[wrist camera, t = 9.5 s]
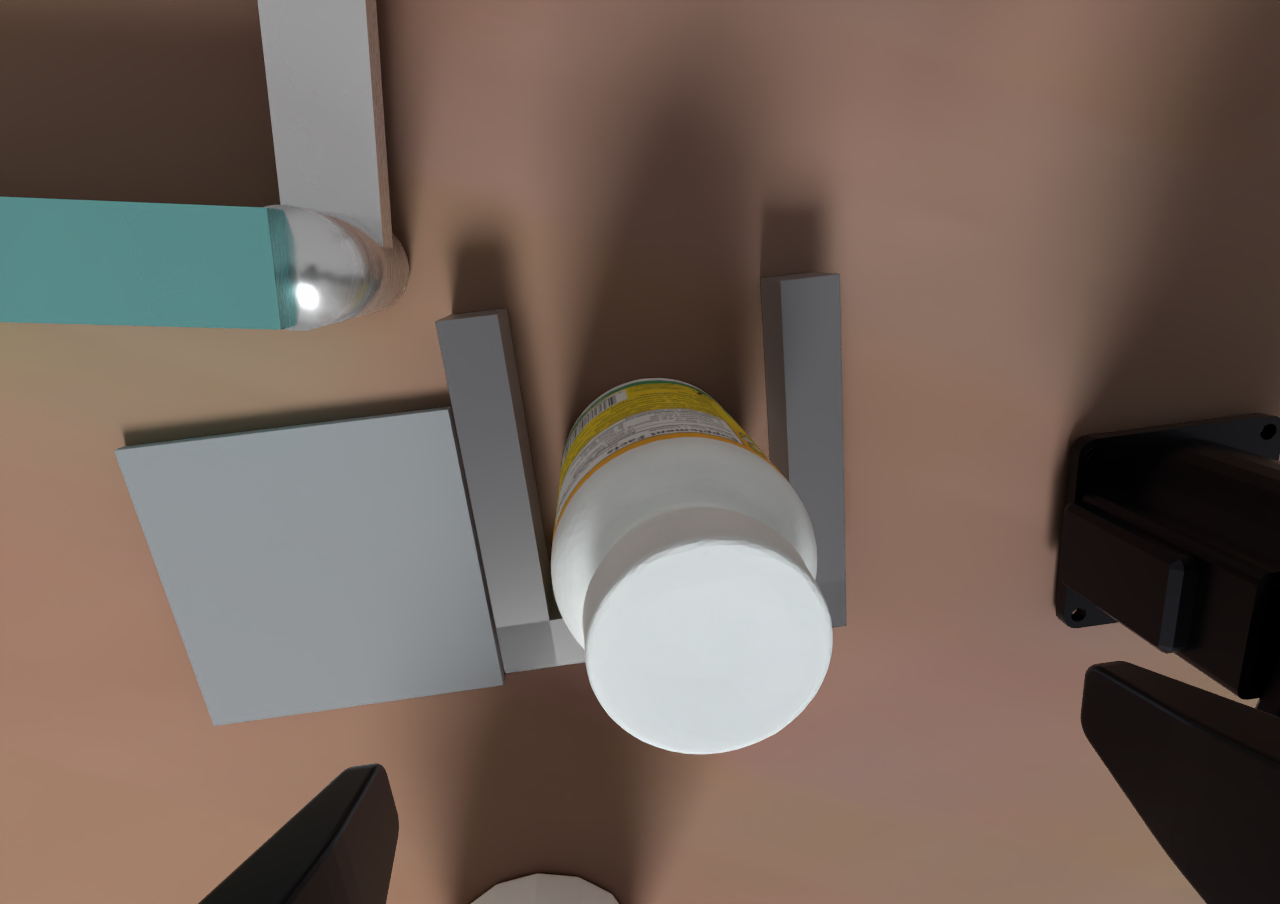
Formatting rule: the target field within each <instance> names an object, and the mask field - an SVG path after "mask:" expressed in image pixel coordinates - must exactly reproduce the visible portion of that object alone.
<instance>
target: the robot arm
mask: <svg viewBox="0 0 1280 904" xmlns="http://www.w3.org/2000/svg"><path fill="white" fill-rule="evenodd" d="M1263 427H1264V428H1263ZM1262 428H1263V430H1262ZM1261 430H1262V432H1261ZM1091 448H1093V452H1092V454H1091V455H1090V456H1089V457H1088V458H1087V453H1088V451H1089V450H1090V449H1091ZM1279 454H1280V418H1279V417H1277V416H1273V415H1269V414H1264V413H1255V414H1247V415H1239V416H1232V417H1224V418H1216V419H1209V420H1201V421H1193V422H1185V423H1178V424H1170V425H1162V426H1155V427H1147V428H1139V429H1132V430H1124V431H1116V432H1108V433H1101V434H1093V435H1086V436H1083V437H1080V438H1079V439H1078V440H1076V441H1075V442H1074V444H1073V445H1072V446H1071V449H1070V453H1069V464H1068V475H1067V487H1066V498H1065V509H1064V515H1063V527H1062V538H1061V550H1060V561H1059V572H1058V589H1057V600H1056V616H1057V617H1058V618H1059V619H1060V620H1061V621H1062V622H1063V623H1065V624H1066V625H1067V626H1069V627H1071V628H1081V627H1088V626H1095V625H1102V624H1109V623H1116V622H1119V623H1121V624H1122V625H1124V626H1125V627H1127V628H1128V629H1129V630H1131V631H1132V632H1134V633H1135V634H1137V635H1138V636H1140V637H1141V638H1142V639H1144V640H1145V641H1147V642H1148V643H1150V644H1151V645H1153V646H1154V647H1155V648H1157V649H1158V650H1160V651H1161V652H1164V653H1166V654H1167V653H1175V654H1176V655H1178V656H1179V657H1181V658H1182V659H1184V660H1185V661H1186V662H1188V663H1189V664H1191V665H1192V666H1194V667H1195V668H1197V669H1198V670H1200V671H1201V672H1203V673H1204V674H1206V675H1207V676H1209V677H1210V678H1212V679H1213V680H1214V681H1216V682H1217V683H1219V684H1220V685H1222V686H1223V687H1225V688H1226V689H1228V690H1229V691H1231V692H1232V693H1234V694H1235V695H1237V696H1238V697H1239V698H1241V699H1247V700H1248V699H1255V698H1260V699H1259V701H1258V703H1257V705H1256V707H1255V708H1252V707H1250V706H1247V705H1244V704H1241V703H1239V702H1236V701H1233V700H1230V699H1228V698H1225V697H1222V696H1219V695H1216V694H1214V693H1211V692H1208V691H1205V690H1203V689H1200V688H1197V687H1194V686H1192V685H1189V684H1186V683H1183V682H1181V681H1178V680H1175V679H1172V678H1170V677H1167V676H1164V675H1161V674H1159V673H1156V672H1153V671H1150V670H1148V669H1145V668H1142V667H1139V666H1137V665H1134V664H1131V663H1128V662H1124V661H1115V662H1107V663H1100V664H1094V665H1092V666H1090V667H1089V668H1088V670H1087V671H1086V674H1085V680H1084V689H1083V698H1082V708H1081V724H1082V728H1083V731H1084V733H1085V735H1086V737H1087V739H1088V741H1089V742H1090V744H1091V745H1092V746H1093V748H1094V749H1095V751H1096V752H1097V754H1098V755H1099V757H1100V758H1101V760H1102V761H1103V763H1104V764H1105V765H1106V767H1107V768H1108V770H1109V771H1110V773H1111V774H1112V776H1113V777H1114V779H1115V780H1116V781H1117V783H1118V784H1119V786H1120V787H1121V789H1122V790H1123V792H1124V793H1125V795H1126V796H1127V797H1128V799H1129V800H1130V802H1131V803H1132V805H1133V806H1134V808H1135V809H1136V811H1137V812H1138V814H1139V815H1140V816H1141V818H1142V819H1143V821H1144V822H1145V824H1146V825H1147V827H1148V828H1149V830H1150V831H1151V832H1152V834H1153V835H1154V837H1155V838H1156V839H1157V841H1158V842H1159V844H1160V845H1161V846H1162V848H1163V849H1164V851H1165V852H1166V853H1167V855H1168V856H1169V857H1170V859H1171V860H1172V861H1173V862H1174V864H1175V865H1176V866H1177V868H1178V869H1179V870H1180V871H1181V873H1182V874H1183V875H1184V876H1185V878H1186V879H1187V880H1188V881H1189V883H1190V884H1191V885H1192V886H1193V888H1194V889H1195V890H1196V891H1197V892H1198V894H1199V895H1200V896H1201V897H1202V899H1203V900H1204V901H1205V902H1206V903H1207V904H1280V461H1278V460H1279ZM1075 609H1077V611H1076V612H1075V613H1074V614H1072V612H1073V611H1074V610H1075ZM398 831H399V820H398V814H397V810H396V806H395V802H394V799H393V795H392V791H391V787H390V784H389V780H388V776H387V773H386V771H385V769H384V767H383V766H382V765H380V764H369V765H362V766H354V767H350V768H348V769H346V770H345V771H343V772H342V773H341V774H340V775H339V776H337V777H336V778H335V779H334V780H333V781H332V782H331V783H330V784H329V785H328V786H327V787H325V788H324V789H323V790H322V791H321V792H320V793H319V794H318V795H317V796H316V797H314V798H313V799H312V800H311V801H310V802H309V803H308V804H307V805H306V806H305V807H304V808H302V809H301V810H300V811H299V812H298V813H297V814H296V815H295V816H294V817H293V818H291V819H290V820H289V821H288V822H287V823H286V824H285V825H284V826H283V827H282V828H281V829H279V830H278V831H277V832H276V833H275V834H274V835H273V836H272V837H271V838H270V839H268V840H267V841H266V842H265V843H264V844H263V845H262V846H261V847H260V848H259V849H257V850H256V851H255V852H254V853H253V854H252V855H251V856H250V857H249V858H248V859H247V860H245V861H244V862H243V863H242V864H241V865H240V866H239V867H238V868H237V869H236V870H234V871H233V872H232V873H231V874H230V875H229V876H228V877H227V878H226V879H225V880H224V881H222V882H221V883H220V884H219V885H218V886H217V887H216V888H215V889H214V890H213V891H211V892H210V893H209V894H208V895H207V896H206V897H205V898H204V899H203V900H202V901H201V902H199V903H198V904H386V900H387V894H388V889H389V883H390V878H391V872H392V867H393V861H394V856H395V850H396V845H397V839H398Z"/></svg>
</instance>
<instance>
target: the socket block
mask: <svg viewBox="0 0 1280 904" xmlns="http://www.w3.org/2000/svg"><path fill="white" fill-rule="evenodd" d="M760 284H761V303H762V322H763V340H764V359H765V378H766V396H767V415H768V434H769V452H770V461H771V462H772V463H773V464H774V465H775V466H776V468H777V469H778V470H779V471H780V472H781V474H782V475H783V476H784V477H785V478H786V479H787V481H788V482H789V483H790V485H791V486H792V487H793V489H794V490H795V492H796V493H797V495H798V497H799V498H800V500H801V502H802V503H803V505H804V507H805V509H806V511H807V514H808V516H809V518H810V521H811V524H812V527H813V531H814V535H815V540H816V546H817V574H816V580H815V581H816V583H817V584H818V586H819V588H820V590H821V592H822V594H823V596H824V599H825V601H826V603H827V606H828V609H829V612H830V615H831V621H832V628H833V627H841V626H846V573H845V520H844V466H843V413H842V360H841V307H840V274H832V273H819V272H810V273H801V274H793V275H784V276H776V277H767V278H760ZM435 324H436V329H437V334H438V339H439V344H440V349H441V354H442V359H443V364H444V369H445V374H446V379H447V384H448V389H449V394H450V399H451V404H452V409H453V414H454V419H455V424H456V429H457V434H458V439H459V444H460V449H461V454H462V459H463V464H464V469H465V475H466V480H467V485H468V490H469V495H470V500H471V505H472V510H473V515H474V520H475V525H476V530H477V535H478V540H479V545H480V550H481V555H482V560H483V565H484V570H485V575H486V580H487V585H488V590H489V595H490V600H491V605H492V610H493V615H494V620H495V625H496V630H497V635H498V640H499V645H500V651H501V656H502V661H503V666H504V671H505V673H512V672H519V671H526V670H533V669H540V668H547V667H555V666H562V665H569V664H576V663H583V662H585V650H584V649H583V648H582V647H581V645H580V644H579V643H578V642H577V641H576V639H575V638H574V636H573V635H572V634H571V632H570V631H569V629H568V627H567V625H566V624H565V622H564V620H563V618H562V616H561V613H560V611H559V608H558V606H557V603H556V600H555V595H554V591H553V585H552V577H551V571H550V565H549V559H548V553H547V547H546V541H545V535H544V529H543V523H542V517H541V511H540V505H539V499H538V493H537V487H536V481H535V474H534V468H533V462H532V456H531V450H530V444H529V438H528V432H527V426H526V420H525V414H524V408H523V402H522V396H521V390H520V384H519V378H518V372H517V366H516V360H515V354H514V348H513V342H512V336H511V330H510V324H509V318H508V312H507V308H503V309H494V310H486V311H477V312H469V313H460V314H452V315H449V316H447V317H445V318H442V319H440V320H438V321H435Z"/></svg>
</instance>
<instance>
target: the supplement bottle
mask: <svg viewBox="0 0 1280 904" xmlns="http://www.w3.org/2000/svg"><path fill="white" fill-rule="evenodd" d="M816 574H817V546H816V540H815V535H814V531H813V527H812V524H811V521H810V518H809V516H808V514H807V511H806V509H805V507H804V505H803V503H802V502H801V500H800V498H799V497H798V495H797V493H796V492H795V490H794V489H793V487H792V486H791V485H790V483H789V482H788V481H787V479H786V478H785V477H784V476H783V475H782V474H781V472H780V471H779V470H778V469H777V468H776V466H775V465H774V464H773V463H772V462H771V461H770V460H769V459H768V458H767V457H766V456H765V454H764V453H763V452H762V451H761V450H760V449H759V447H758V446H757V445H756V444H755V443H754V442H753V440H752V439H751V438H750V437H749V436H748V435H747V434H746V433H745V432H744V430H743V429H742V428H741V427H740V426H739V425H738V424H737V423H736V421H735V420H734V419H733V418H732V417H731V416H730V415H729V414H728V412H727V411H725V410H724V409H723V408H722V407H721V406H720V405H719V404H718V403H717V402H716V401H715V400H714V399H713V398H712V397H711V396H710V395H708V394H707V393H705V392H704V391H702V390H701V389H699V388H697V387H695V386H693V385H691V384H688V383H686V382H682V381H679V380H674V379H667V378H645V379H639V380H634V381H630V382H627V383H624V384H621V385H619V386H616V387H614V388H612V389H610V390H609V391H607V392H605V393H604V394H602V395H601V396H599V397H598V398H597V399H596V400H594V401H593V402H592V403H591V404H590V405H589V406H588V407H587V408H586V409H585V410H584V411H583V412H582V414H581V415H580V416H579V418H578V419H577V420H576V422H575V424H574V426H573V428H572V429H571V431H570V433H569V436H568V438H567V441H566V444H565V448H564V452H563V457H562V462H561V474H560V483H559V493H558V502H557V508H556V518H555V525H554V533H553V542H552V555H551V577H552V585H553V591H554V595H555V600H556V603H557V606H558V608H559V611H560V613H561V616H562V618H563V620H564V622H565V624H566V625H567V627H568V629H569V631H570V632H571V634H572V635H573V636H574V638H575V639H576V641H577V642H578V643H579V644H580V645H581V647H582V648H583V649H584V650H585V663H586V668H587V673H588V677H589V681H590V684H591V687H592V689H593V691H594V693H595V695H596V697H597V699H598V701H599V702H600V704H601V705H602V707H603V708H604V710H605V711H606V712H607V714H608V715H609V716H610V717H611V718H612V719H613V720H614V721H615V722H616V723H617V724H618V725H619V726H620V727H622V728H623V729H624V730H625V731H627V732H628V733H630V734H631V735H633V736H634V737H636V738H638V739H639V740H641V741H643V742H646V743H648V744H650V745H653V746H655V747H658V748H662V749H666V750H668V751H673V752H680V753H684V754H713V753H722V752H728V751H731V750H736V749H740V748H743V747H746V746H749V745H752V744H754V743H757V742H759V741H761V740H763V739H765V738H767V737H769V736H771V735H773V734H775V733H777V732H778V731H780V730H781V729H783V728H784V727H785V726H786V725H788V724H789V723H790V722H791V721H793V720H794V719H795V718H796V717H797V716H798V715H799V714H800V713H801V712H802V711H803V710H804V709H805V707H806V706H807V705H808V704H809V702H810V701H811V700H812V699H813V697H814V696H815V695H816V693H817V691H818V689H819V688H820V686H821V684H822V682H823V680H824V677H825V675H826V672H827V670H828V667H829V662H830V658H831V654H832V646H833V631H832V621H831V615H830V612H829V609H828V606H827V603H826V601H825V599H824V596H823V594H822V592H821V590H820V588H819V586H818V584H817V583H816V581H815V580H816Z"/></svg>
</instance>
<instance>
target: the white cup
mask: <svg viewBox="0 0 1280 904" xmlns="http://www.w3.org/2000/svg"><path fill="white" fill-rule="evenodd" d="M471 904H619V903H618V902H617V900H616V899H615V897H614V896H613V895H612V894H611V893H609V892H607V891H605V890H603V889H601V888H600V887H598V886H596V885H594V884H592V883H590V882H588V881H586V880H584V879H582V878H580V877H574V876H563V875H552V874H540V873H537V874H533V875H529V876H525V877H521V878H518V879H514V880H510V881H507V882H503V883H499V884H497V885H495V886H494V887H492V888H491V889H490V890H488V891H487V892H486V893H484V894H483V895H481V896H480V897H479V898H477V899H476V900H475V901H473V902H472V903H471Z"/></svg>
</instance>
